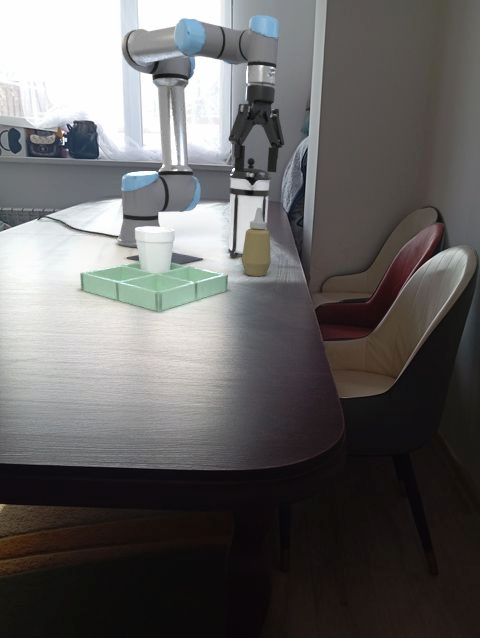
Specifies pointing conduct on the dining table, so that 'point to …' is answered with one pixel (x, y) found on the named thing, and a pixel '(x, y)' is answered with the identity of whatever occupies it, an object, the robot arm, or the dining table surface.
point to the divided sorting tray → (154, 285)
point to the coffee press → (246, 203)
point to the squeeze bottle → (257, 247)
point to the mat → (175, 258)
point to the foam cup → (155, 248)
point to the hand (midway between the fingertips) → (256, 171)
